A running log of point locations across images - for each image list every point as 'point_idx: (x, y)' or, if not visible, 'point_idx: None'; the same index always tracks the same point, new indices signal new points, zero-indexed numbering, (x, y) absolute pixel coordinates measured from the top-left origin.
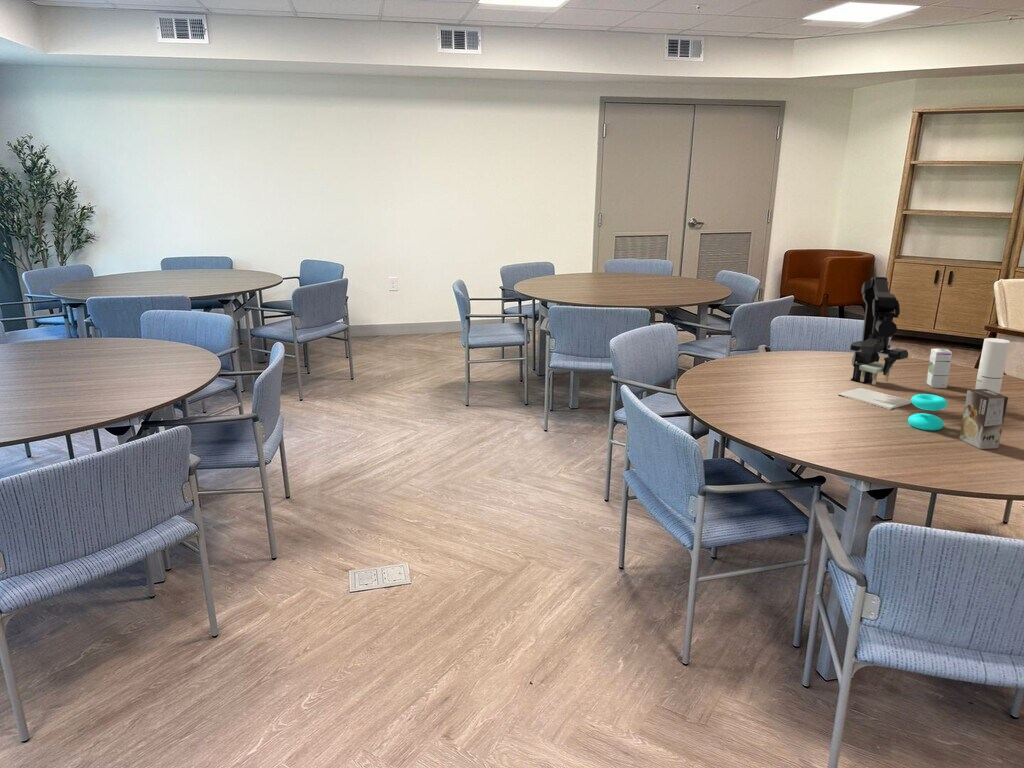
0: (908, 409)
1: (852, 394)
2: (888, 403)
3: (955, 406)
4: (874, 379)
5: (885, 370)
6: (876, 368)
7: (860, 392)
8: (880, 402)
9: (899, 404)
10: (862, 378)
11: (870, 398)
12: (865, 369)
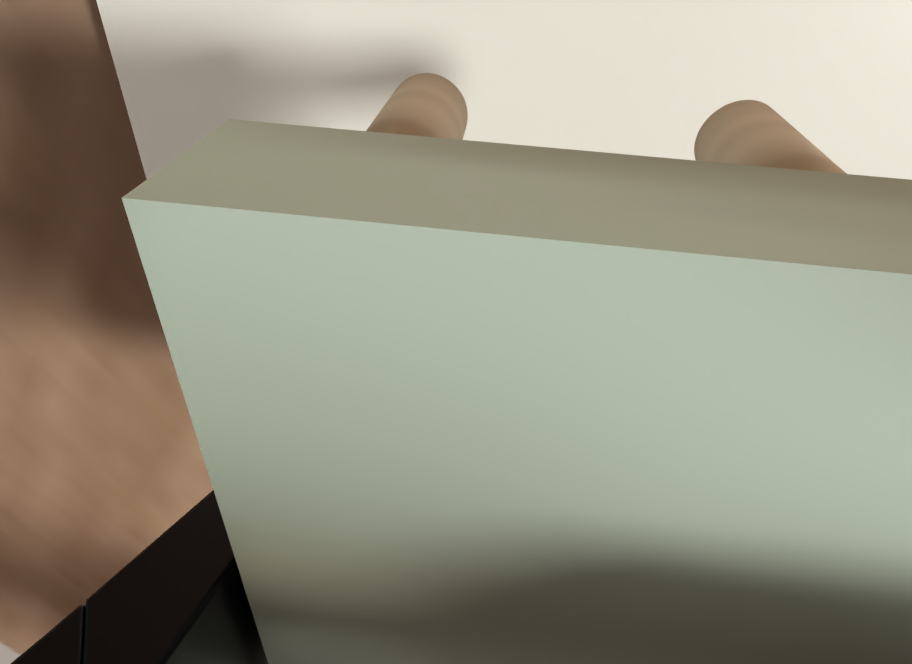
0: (29, 97)
1: (796, 74)
2: (223, 54)
3: (26, 466)
4: (383, 120)
5: (195, 506)
6: (294, 379)
7: None
8: (307, 2)
9: (136, 129)
10: (750, 135)
11: (504, 88)
12: (794, 199)
